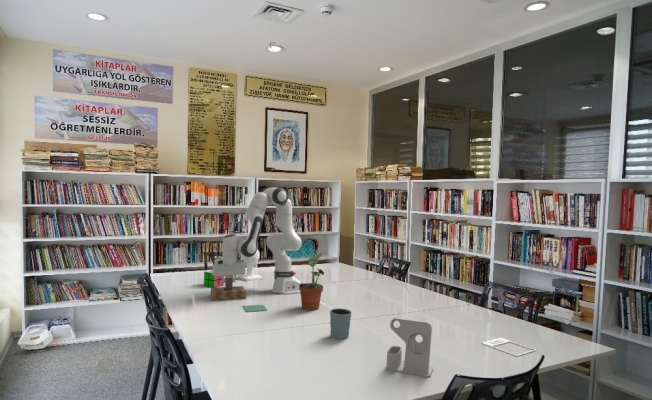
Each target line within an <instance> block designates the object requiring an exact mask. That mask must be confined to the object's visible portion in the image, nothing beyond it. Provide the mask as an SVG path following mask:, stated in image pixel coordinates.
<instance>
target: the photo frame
mask: <svg viewBox="0 0 652 400" xmlns="http://www.w3.org/2000/svg"><path fill="white" fill-rule="evenodd" d="M508 343H509V344H510V343H511V344H514V345H517V346H519V347H523V348H526V349H528V351H525V352H522V353H519V354H514V353H513V352H509V351H507V350H504V349H501V348H499V347H498V346H501V345H504V344H508ZM480 344H481V345H484V346H487V347H489V348H492V349H495V350H497V351H499V352H503V353H505V354H508V355H511V356H514V357H517V358H519V357H521V356H524V355H528V354H531V353H533V352H537V349H536V348H532V347H529V346H526V345H524V344H520V343H518V342H514V341H511V340H509V339H506V338H504V337H498V338H495V339H491V340H487V341H482V342H481V343H480Z"/></svg>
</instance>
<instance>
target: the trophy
mask: <svg viewBox="0 0 652 400" xmlns="http://www.w3.org/2000/svg"><path fill="white" fill-rule="evenodd" d="M260 256H261V254H260V251H259V250H258V249H257V252H256V253H255V255H253V256H252V257H246V256H244V255H242V254H241V260H244V262H246V266H245V268H247V269H246V274H245V275H237V279H239V280H243V281H245V282H252V281H259V280H263V278H264V277H263V275H258V274H254V272H255V271H254V267H256V265H257V264H258V263H259V260H260Z"/></svg>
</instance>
